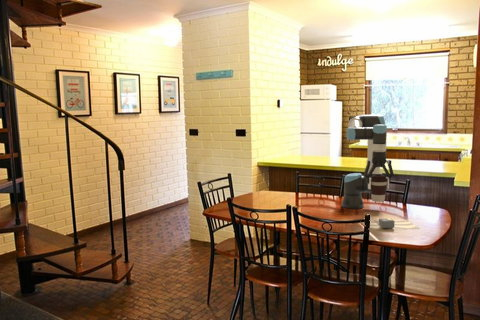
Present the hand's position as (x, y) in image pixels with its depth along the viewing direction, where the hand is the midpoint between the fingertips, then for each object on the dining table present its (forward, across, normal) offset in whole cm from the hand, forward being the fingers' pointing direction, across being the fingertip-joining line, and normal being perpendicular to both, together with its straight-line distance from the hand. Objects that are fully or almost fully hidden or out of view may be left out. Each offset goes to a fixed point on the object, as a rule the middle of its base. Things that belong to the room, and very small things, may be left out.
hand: (378, 188), depth 235 cm
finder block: (+21, +2, -10) cm, 23 cm away
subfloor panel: (+22, +6, -4) cm, 23 cm away
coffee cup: (+7, 0, 0) cm, 7 cm away
